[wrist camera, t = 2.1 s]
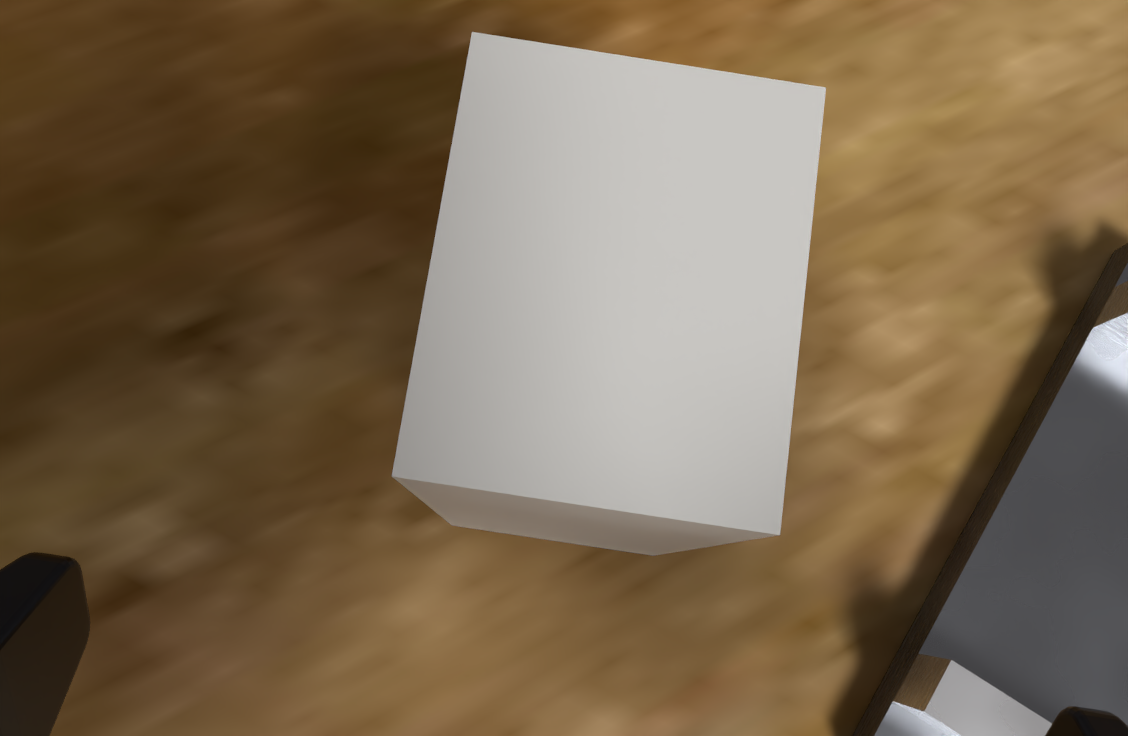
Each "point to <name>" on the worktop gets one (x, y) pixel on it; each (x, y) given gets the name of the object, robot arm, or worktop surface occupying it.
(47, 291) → the worktop surface
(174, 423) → the worktop surface
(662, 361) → the block
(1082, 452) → the rail plate
